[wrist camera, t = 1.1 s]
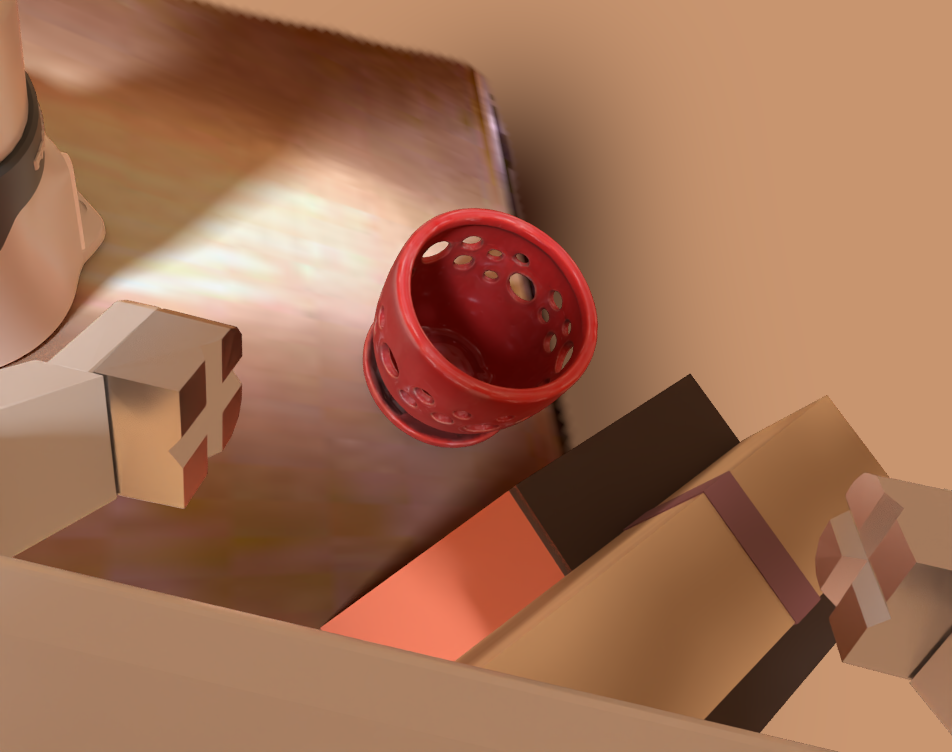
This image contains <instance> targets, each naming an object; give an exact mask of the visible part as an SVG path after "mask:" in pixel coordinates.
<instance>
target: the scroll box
mask: <svg viewBox="0 0 952 752" xmlns="http://www.w3.org/2000/svg"><path fill="white" fill-rule="evenodd" d="M863 473H870V474H874V475H879V476H883V477H888V478H889V476H888V475H887V473H886V472H885V471H884V470H883V468H882V467H881V466H880V464H879V463H878V462H877V460H876V459H875V458H874V456H873V455H872V454H871V452H870V451H869V450H868V448H867V447H866V446H865V444H864V443H863V442H862V440H861V439H860V438H859V437H858V435H857V434H856V433H855V431H854V430H853V429H852V427H851V426H850V425H849V423H848V422H847V421H846V419H845V418H844V417H843V416H842V414H841V413H840V411H839V410H838V409H837V408H836V406H835V405H834V404H833V402H832V401H831V400H830V398H829V397H828V396H827V395H826V396H824V397H822V398H821V399H819V400H817V401H815V402H813V403H811V404H809V405H808V406H806V407H804V408H802V409H800V410H798V411H796V412H795V413H793V414H791V415H789V416H787V417H785V418H783V419H781V420H779V421H778V422H776V423H774V424H772V425H771V426H768V427H766V428H765V429H763V430H761V431H759V432H757V433H755V434H753V435H752V436H750V437H748V438H746V439H744V440H743V441H741V442H740V443H739V444H737V445H736V446H735V447H733V448H732V449H731V450H729V451H728V452H727V453H726V454H724V455H723V456H722V457H720V458H719V459H718V460H716V461H715V462H714V463H712V464H711V465H710V466H709V467H707V468H706V469H705V470H703V471H702V472H701V473H699V474H698V475H697V476H696V477H694V478H693V479H692V480H690V481H689V482H688V483H686V484H685V485H684V486H682V487H681V488H680V489H679V490H677V491H676V492H675V493H673V494H672V495H671V496H669V497H668V498H667V499H666V500H664V501H663V502H662V503H660V504H659V505H658V506H656V507H655V508H653V509H651V510H649V511H647V512H646V513H644V514H643V515H642V516H640V517H639V518H638V519H636V520H635V521H634V522H633V523H631V524H630V525H629V526H627V527H626V528H625V529H623V531H624V532H622V533H621V534H620V535H619V536H617V537H616V538H615V539H613V540H612V541H611V542H609V543H608V544H607V545H605V546H604V547H603V548H602V549H600V550H599V551H598V552H596V553H595V554H594V555H592V556H591V557H590V558H589V559H587V560H586V561H585V562H583V563H582V564H581V565H579V566H578V567H577V568H575V569H574V570H573V571H572V572H570V573H569V574H568V575H566V576H565V577H564V578H562V579H561V580H560V581H559V582H557V583H556V584H555V585H553V586H552V587H551V588H549V589H548V590H547V591H545V592H544V593H543V594H542V595H540V596H539V597H538V598H536V599H535V600H534V601H532V602H531V603H530V604H528V605H527V606H526V607H525V608H523V609H522V610H521V611H519V612H518V613H517V614H515V615H514V616H513V617H512V618H510V619H509V620H508V621H506V622H505V623H504V624H502V625H501V626H500V627H498V628H497V629H496V630H495V631H493V632H492V633H491V634H489V635H488V636H487V637H485V638H484V639H483V640H482V641H480V642H479V643H478V644H476V645H475V646H474V647H472V648H471V649H470V650H468V651H467V652H466V653H465V654H463V655H462V656H461V657H459V658H458V659H457V660H455V662H459V663H463V664H468V665H472V666H476V667H480V668H485V669H489V670H493V671H498V672H502V673H506V674H510V675H515V676H519V677H523V678H528V679H532V680H536V681H540V682H545V683H549V684H553V685H558V686H562V687H566V688H570V689H575V690H579V691H583V692H587V693H592V694H596V695H600V696H605V697H609V698H613V699H617V700H622V701H626V702H630V703H635V704H639V705H643V706H647V707H652V708H656V709H660V710H664V711H669V712H673V713H677V714H681V715H685V716H690V717H694V718H698V719H702V720H704V719H705V718H706V717H707V716H708V715H709V714H710V713H711V712H712V710H713V709H714V708H715V707H716V706H717V705H718V704H719V703H720V702H721V701H722V700H723V699H724V698H725V697H726V696H727V695H728V693H729V692H730V691H731V690H732V689H733V688H734V687H735V686H736V685H737V684H738V683H739V682H740V681H741V680H742V679H743V678H744V676H745V675H746V674H747V673H748V672H749V671H750V670H751V669H752V668H753V667H754V666H755V665H756V664H757V663H758V662H759V661H760V660H761V658H762V657H763V656H764V655H765V654H766V653H767V652H768V651H769V650H770V649H771V648H772V647H773V646H774V645H775V644H776V643H777V641H778V640H779V639H780V638H781V637H782V636H783V635H784V634H785V633H786V632H787V631H788V630H789V629H790V628H791V627H792V626H793V625H795V624H798V623H799V622H800V621H801V620H802V619H803V618H804V617H805V616H806V615H807V614H808V613H809V612H810V610H811V609H812V608H813V607H814V606H815V605H816V604H817V603H818V602H819V601H820V600H821V598H820V596H821V595H822V594H823V592H822V591H821V590H820V587H819V584H818V580H817V577H816V568H815V556H816V552H817V547H818V542H819V538H820V536H821V535H822V533H823V531H824V529H825V527H826V526H827V524H828V522H829V520H830V519H832V518H834V517H836V516H838V515H840V514H842V513H844V512H846V511H848V510H849V507H848V504H847V500H846V496H845V495H846V493H847V491H848V490H849V488H850V487H851V485H852V484H853V482H854V481H855V480H856V479H857V478H858V477H860V476H861V475H862V474H863Z"/></svg>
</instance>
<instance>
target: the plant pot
mask: <svg viewBox="0 0 952 752" xmlns="http://www.w3.org/2000/svg"><path fill="white" fill-rule="evenodd" d="M470 236H477V237H480V238H481V240H480V241H479V242H477V243H474V244H467V243H464V242H462V241H463V240H464V239H466V238H468V237H470ZM441 241H446V242H448V243H449V244H448V246H447V247H446V248H445V249H444V250H443V251H441V252H440V253H438V254H436V255H433V256H430V257H422V256H423V254H424V253H425V252H426V251H427V250H428V248H429V247H431V246H432V245H434V244H435V243H438V242H441ZM491 250H498V251H500V252H501V253H502V255H501V256H492V255H490V254H489V253H488V252H489V251H491ZM519 253H520V254H523V255H525V256H526V257H527V258H528V259H529V262H528V263H522V262H521V261H519V260H518V259H517V257H516V255H517V254H519ZM461 255H467V256H471V257H472V260H471V261H470V262H469V263H467V264H461V265H458V264H455V263H454V260H455V259H456V258H457V257H458V256H461ZM488 270H490V271H494V272H496V273H497V275H498V277H497V278H496V279H491V278H488V277H487V276H486V275H485V274H484V273H485V271H488ZM515 273H519V274H522V275H524V276H526V277H527V278H528V279H529V280H531V281H532V282H533V285H534V287H535V296H534V298H533V299H532V300H530V301H526V300H523V299H521V298H520V297H518V296H517V295H516V294H515V293H514V292H513V290H512V288H511V286H510V281H509V279H510V276H512V275H513V274H515ZM555 291H557V292H559V293H560V295H561V297H562V307H561V309H559V308H558V307H557V306H556V304H555V302H554V299H553V294H554V292H555ZM543 309H546V310H547V312H548V314H549V320H548V322H545V321H544V320H543V318H542V310H543ZM569 323H571V331H570V333H569V334H568V326H569ZM597 328H598V321H597V314H596V308H595V303H594V301H593V297H592V294H591V291H590V289H589V287H588V284H587V282H586V281H585V279H584V277H583V275H582V273H581V271H580V270H579V268H578V266H577V265H576V263H575V262H574V261H573V259H572V258H571V257H570V256H569V255H568V253H567V252H566V251H565V250H564V249H563V248H562V247H561V246H560V245H559V244H558V243H557V242H556V241H554V240H553V239H552V238H551V237H549V236H548V235H547V234H545V233H544V232H543V231H541V230H539V229H538V228H536V227H535V226H533V225H531V224H529V223H528V222H526V221H524V220H521V219H519V218H517V217H515V216H512V215H509V214H506V213H503V212H499V211H495V210H490V209H479V208H468V209H458V210H453V211H449V212H446V213H443V214H440V215H438V216H436V217H434V218H432V219H431V220H429V221H427V222H426V223H424V224H423V225H422V226H421V227H419V228H418V229H417V230H416V231H415V232H414V233H413V234H412V235H411V237H410V238H409V239H408V240H407V242H406V243H405V245H404V246H403V248H402V250H401V251H400V253H399V255H398V256H397V258H396V260H395V262H394V264H393V266H392V268H391V270H390V272H389V274H388V276H387V279H386V282H385V284H384V287H383V289H382V292H381V295H380V298H379V301H378V304H377V308H376V313H375V319H374V322H373V324H372V325H371V327H370V329H369V332H368V334H367V337H366V340H365V344H364V349H363V369H364V375H365V379H366V382H367V385H368V388H369V391H370V393H371V395H372V397H373V399H374V401H375V402H376V404H377V405H378V407H379V408H380V410H381V411H382V412H383V414H384V415H385V416H386V417H387V418H388V419H389V420H390V421H391V422H392V423H393V424H394V425H395V426H396V427H398V428H399V429H400V430H402V431H403V432H405V433H406V434H408V435H410V436H411V437H413V438H415V439H417V440H419V441H422V442H424V443H427V444H430V445H435V446H439V447H450V448H458V447H466V446H471V445H475V444H478V443H480V442H483V441H485V440H487V439H488V438H490V437H492V436H493V435H494V434H496V433H497V432H498V431H499V430H501V429H504V428H507V427H510V426H513V425H515V424H517V423H520V422H522V421H524V420H526V419H528V418H529V417H531V416H533V415H535V414H536V413H538V412H540V411H541V410H543V409H544V408H546V407H547V406H549V405H550V404H551V403H553V402H554V401H555V400H556V399H558V398H559V397H560V396H561V395H562V394H564V393H565V392H566V391H567V390H568V389H569V388H570V387H571V386H573V385H574V384H575V382H577V381H578V380H579V378H580V377H581V376H582V375H583V373H584V372H585V370H586V369H587V367H588V365H589V363H590V361H591V359H592V357H593V353H594V350H595V346H596V342H597ZM554 334H555V336H556V339H557V342H556V346H555V348H554V350H553V351H552V352H551V351H550V340H551V338H552V336H553V335H554ZM572 347H573V353H572V356H571V358H570V360H569V361H568V362H567V364H566V365H565V366H564V368H563V369H562V370H561V368H562V365H563V361H564V359H565V356H566V355H567V353H568V351H569V350H570V349H571V348H572Z"/></svg>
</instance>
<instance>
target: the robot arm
mask: <svg viewBox="0 0 952 752" xmlns="http://www.w3.org/2000/svg"><path fill="white" fill-rule="evenodd" d="M105 234H106V231H105V226H104V221H103V219H102V217H101V216H100V214H99V213H98V212H97V211H96V210H95V209H94V208H93V207H92V205H91V204H90V203H89V202H88V201H87V200H86V199H85V198H84V197H83V196H82V194H81V193H80V192H79V191H78V190H77V188H76V182H75V175H74V169H73V165H72V162H71V159H70V157H69V155H68V154H67V153H65V152H60V151H59V149H58V148H57V147H56V145H55V144H54V143H53V142H52V141H51V139H50V138H49V137H48V136H47V135H46V134H45V129H44V122H43V116H42V111H41V109H40V105H39V103H38V101H37V96H36V92H35V89H34V87H33V84H32V82H31V80H30V78H29V76H28V74H27V73H26V71H25V69H24V60H23V51H22V41H21V32H20V23H19V14H18V5H17V0H0V367H2V366H4V365H6V364H8V363H11V362H13V361H15V360H17V359H18V358H20V357H22V356H24V355H25V354H27V353H29V352H30V351H32V350H33V349H35V348H36V347H37V346H39V345H40V344H41V343H42V342H44V341H45V340H46V339H47V338H48V337H49V336H50V335H51V334H52V333H53V332H54V331H55V330H56V329H57V327H58V326H59V325H60V324H61V322H62V321H63V319H64V318H65V316H66V315H67V313H68V311H69V309H70V307H71V305H72V302H73V300H74V297H75V294H76V290H77V285H78V280H79V276H80V273H81V269H82V267H83V265H84V263H85V262H86V261H87V260H88V259H89V258H90V257H91V256H92V255H93V253H94V252H95V251H96V250H97V249H98V247H99V246H100V245H101V243H102V242H103V240H104V238H105ZM241 357H242V334H241V333H240V331H239V329H238V328H237V327H235V326H231V325H227V324H223V323H219V322H216V321H212V320H208V319H204V318H200V317H196V316H192V315H188V314H184V313H180V312H176V311H172V310H168V309H161V308H159V307H156V306H152V305H147V304H143V303H138V302H134V301H129V300H121V301H117V302H115V303H114V304H113V305H112V306H111V307H109V308H108V309H107V310H106V311H105V312H104V313H103V314H101V315H100V316H99V317H98V318H97V319H96V320H95V321H94V322H92V323H91V324H90V325H89V326H88V327H87V328H86V329H84V330H83V331H82V332H81V333H80V334H79V335H78V336H77V337H75V338H74V339H73V340H72V341H71V342H70V343H69V344H67V345H66V346H65V347H64V348H63V349H62V350H61V351H60V352H58V353H57V354H56V355H55V356H54V357H53V358H52V359H50V360H49V361H48V362H43V361H38V360H32V361H29V362H25V363H21V364H18V365H14V366H11V367H7V368H3V369H0V752H837V751H833V750H829V749H825V748H820V747H816V746H812V745H807V744H804V743H799V742H795V741H791V740H787V739H783V738H778V737H774V736H770V735H765V734H761V733H757V732H753V731H749V730H745V729H740V728H736V727H732V726H728V725H723V724H719V723H715V722H711V721H707V720H702V719H698V718H694V717H690V716H685V715H681V714H677V713H673V712H669V711H664V710H660V709H656V708H652V707H647V706H643V705H639V704H635V703H630V702H626V701H622V700H617V699H613V698H609V697H605V696H600V695H596V694H592V693H587V692H583V691H579V690H575V689H570V688H566V687H562V686H558V685H553V684H549V683H545V682H540V681H536V680H532V679H528V678H523V677H519V676H515V675H510V674H506V673H502V672H498V671H493V670H489V669H485V668H480V667H476V666H472V665H468V664H463V663H459V662H455V661H451V660H446V659H442V658H438V657H433V656H429V655H425V654H421V653H416V652H412V651H408V650H403V649H399V648H395V647H391V646H386V645H382V644H378V643H373V642H369V641H365V640H361V639H356V638H352V637H348V636H344V635H339V634H335V633H331V632H327V631H322V630H318V629H314V628H310V627H305V626H301V625H297V624H292V623H288V622H284V621H280V620H275V619H271V618H267V617H263V616H258V615H254V614H250V613H246V612H241V611H237V610H233V609H228V608H224V607H220V606H216V605H211V604H207V603H203V602H199V601H194V600H190V599H186V598H182V597H177V596H173V595H169V594H165V593H160V592H156V591H152V590H147V589H143V588H139V587H135V586H130V585H126V584H122V583H118V582H113V581H109V580H105V579H101V578H96V577H92V576H88V575H83V574H79V573H75V572H71V571H66V570H62V569H58V568H54V567H49V566H45V565H41V564H37V563H32V562H28V561H24V560H19V559H15V558H12V557H13V556H15V555H17V554H19V553H21V552H22V551H24V550H26V549H28V548H30V547H31V546H33V545H35V544H37V543H38V542H40V541H42V540H44V539H46V538H47V537H49V536H51V535H53V534H54V533H56V532H58V531H60V530H62V529H63V528H65V527H67V526H69V525H70V524H72V523H74V522H76V521H78V520H79V519H81V518H83V517H85V516H87V515H88V514H90V513H92V512H94V511H95V510H97V509H99V508H101V507H103V506H104V505H106V504H108V503H110V502H111V501H113V500H115V499H117V495H120V496H125V497H129V498H134V499H139V500H144V501H149V502H154V503H159V504H164V505H168V506H173V507H178V508H183V509H185V507H186V506H187V504H188V503H189V501H190V500H191V498H192V497H193V495H194V494H195V492H196V491H197V489H198V487H199V486H200V484H201V483H202V481H203V480H204V478H205V477H206V475H207V474H208V457H210V456H212V455H215V454H217V453H219V452H221V451H223V449H224V448H225V446H226V444H227V443H228V441H229V439H230V438H231V436H232V433H233V431H234V428H235V425H236V422H237V420H238V417H239V411H240V405H241V399H242V383H241V382H240V380H239V379H238V378H237V376H236V375H235V373H234V372H233V370H232V369H233V368H234V367H235V365H236V364H237V363H238V361H239V360H240V358H241ZM845 496H846V500H847V504H848V507H849V510H848V511H846V512H844V513H842V514H840V515H838V516H836V517H834V518H832V519H830V520H829V522H828V524H827V526H826V527H825V529H824V531H823V533H822V535H821V536H820V538H819V542H818V547H817V552H816V556H815V568H816V577H817V580H818V584H819V587H820V590H821V591H822V592H823V593H824V594H825V595H826V596H827V598H828V599H829V600H830V601H831V602H832V603H833V604H834V605H835V606H836V608H835V609H834V611H833V612H832V614H831V615H830V617H829V621H830V624H831V627H832V631H833V634H834V637H835V640H836V643H837V647H838V650H839V653H840V656H841V660H842V662H843V663H847V664H851V665H855V666H858V667H862V668H866V669H870V670H874V671H878V672H881V673H885V674H889V675H893V676H897V677H901V678H905V679H908V680H911V682H910V684H911V685H912V687H913V688H914V689H915V690H916V692H917V693H918V694H919V695H920V697H921V698H922V699H923V700H924V702H925V703H926V704H927V705H928V706H929V708H930V709H931V710H932V711H933V713H934V714H935V715H936V716H937V718H938V719H939V720H940V721H941V722H942V724H943V725H944V726H945V727H946V729H947V730H948V731H949V732H950V734H951V735H952V490H948V489H939V488H935V487H930V486H925V485H920V484H916V483H911V482H906V481H902V480H897V479H893V478H888V477H883V476H879V475H874V474H870V473H863V474H862V475H861V476H860V477H858V478H857V479H856V480H855V481H854V482H853V484H852V485H851V487H850V488H849V490H848V491H847V493H846V495H845Z"/></svg>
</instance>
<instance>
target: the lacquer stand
mask: <svg viewBox="0 0 952 752" xmlns="http://www.w3.org/2000/svg"><path fill="white" fill-rule="evenodd" d="M739 443H740V442H739V440H738V439H737V437H736V436H735V435H734V433H733V432H732V430H731V429H730V428H729V426H728V425H727V423H726V422H725V421H724V419H723V418H722V417H721V415H720V414H719V412H718V411H717V410H716V408H715V407H714V405H713V404H712V403H711V401H710V400H709V399H708V397H707V396H706V394H705V393H704V392H703V390H702V389H701V388H700V386H699V385H698V383H697V382H696V381H695V379H694V378H693V377H692V375H691V374H689V375H687V376H686V377H684V378H683V379H681V380H680V381H678V382H676V383H675V384H673V385H672V386H670V387H669V388H667V389H666V390H664V391H662V392H661V393H659V394H658V395H656V396H655V397H653V398H652V399H650V400H648V401H647V402H645V403H644V404H642V405H641V406H639V407H637V408H636V409H634V410H633V411H631V412H630V413H628V414H626V415H625V416H623V417H622V418H620V419H619V420H617V421H616V422H614V423H612V424H611V425H609V426H608V427H606V428H605V429H603V430H601V431H600V432H598V433H597V434H595V435H594V436H592V437H591V438H589V439H587V440H586V441H584V442H583V443H581V444H580V445H578V446H577V447H575V448H573V449H572V450H570V451H569V452H567V453H566V454H564V455H562V456H561V457H559V458H558V459H556V460H555V461H553V462H551V463H550V464H548V465H547V466H545V467H544V468H542V469H541V470H539V471H537V472H536V473H534V474H533V475H531V476H530V477H528V478H526V479H525V480H523V481H522V482H520V483H519V484H517V485H516V486H514V487H513V488H511V489H510V490H509V491H507V492H506V493H505V494H503V495H502V496H500V497H499V498H498V499H496V500H495V501H494V502H492V503H491V504H490V505H488V506H487V507H485V508H484V509H483V510H481V511H480V512H479V513H477V514H476V515H474V516H473V517H472V518H470V519H469V520H468V521H466V522H465V523H463V524H462V525H461V526H459V527H458V528H457V529H455V530H454V531H452V532H451V533H450V534H448V535H447V536H446V537H444V538H443V539H441V540H440V541H439V542H437V543H436V544H435V545H433V546H432V547H431V548H429V549H428V550H426V551H425V552H424V553H422V554H421V555H420V556H418V557H417V558H415V559H414V560H413V561H411V562H410V563H409V564H407V565H406V566H404V567H403V568H402V569H400V570H399V571H398V572H396V573H395V574H393V575H392V576H391V577H389V578H388V579H387V580H385V581H384V582H382V583H381V584H380V585H378V586H377V587H376V588H374V589H373V590H372V591H370V592H369V593H367V594H366V595H365V596H363V597H362V598H361V599H359V600H358V601H356V602H355V603H354V604H352V605H351V606H350V607H348V608H347V609H345V610H344V611H343V612H341V613H340V614H339V615H337V616H336V617H334V618H333V619H332V620H330V621H329V622H328V623H326V624H325V625H323V626H322V627H321V630H322V631H327V632H331V633H335V634H339V635H344V636H348V637H352V638H356V639H361V640H365V641H369V642H373V643H378V644H382V645H386V646H391V647H395V648H399V649H403V650H408V651H412V652H416V653H421V654H425V655H429V656H433V657H438V658H442V659H446V660H451V661H455V660H457V659H458V658H459V657H461V656H462V655H463V654H465V653H466V652H467V651H468V650H470V649H471V648H472V647H474V646H475V645H476V644H478V643H479V642H480V641H482V640H483V639H484V638H485V637H487V636H488V635H489V634H491V633H492V632H493V631H495V630H496V629H497V628H498V627H500V626H501V625H502V624H504V623H505V622H506V621H508V620H509V619H510V618H512V617H513V616H514V615H515V614H517V613H518V612H519V611H521V610H522V609H523V608H525V607H526V606H527V605H528V604H530V603H531V602H532V601H534V600H535V599H536V598H538V597H539V596H540V595H542V594H543V593H544V592H545V591H547V590H548V589H549V588H551V587H552V586H553V585H555V584H556V583H557V582H559V581H560V580H561V579H562V578H564V577H565V576H566V575H568V574H569V573H570V572H572V571H573V570H574V569H575V568H577V567H578V566H579V565H581V564H582V563H583V562H585V561H586V560H587V559H589V558H590V557H591V556H592V555H594V554H595V553H596V552H598V551H599V550H600V549H602V548H603V547H604V546H605V545H607V544H608V543H609V542H611V541H612V540H613V539H615V538H616V537H617V536H619V535H620V534H621V533H622V532H624V531H623V529H625V528H626V527H627V526H629V525H630V524H631V523H633V522H634V521H635V520H636V519H638V518H639V517H640V516H642V515H643V514H644V513H646V512H647V511H649V510H651V509H653V508H655V507H656V506H658V505H659V504H660V503H662V502H663V501H664V500H666V499H667V498H668V497H669V496H671V495H672V494H673V493H675V492H676V491H677V490H679V489H680V488H681V487H682V486H684V485H685V484H686V483H688V482H689V481H690V480H692V479H693V478H694V477H696V476H697V475H698V474H699V473H701V472H702V471H703V470H705V469H706V468H707V467H709V466H710V465H711V464H712V463H714V462H715V461H716V460H718V459H719V458H720V457H722V456H723V455H724V454H726V453H727V452H728V451H729V450H731V449H732V448H733V447H735V446H736V445H737V444H739ZM820 598H821V600H820V601H819V602H818V603H817V604H816V605H815V606H814V607H813V608H812V609H811V610H810V612H809V613H808V614H807V615H806V616H805V617H804V618H803V619H802V620H801V621H800V622H799V623H798V624H795V625H793V626H792V627H791V628H790V629H789V630H788V631H787V632H786V633H785V634H784V635H783V636H782V637H781V638H780V639H779V640H778V641H777V643H776V644H775V645H774V646H773V647H772V648H771V649H770V650H769V651H768V652H767V653H766V654H765V655H764V656H763V657H762V658H761V660H760V661H759V662H758V663H757V664H756V665H755V666H754V667H753V668H752V669H751V670H750V671H749V672H748V673H747V674H746V675H745V676H744V678H743V679H742V680H741V681H740V682H739V683H738V684H737V685H736V686H735V687H734V688H733V689H732V690H731V691H730V692H729V693H728V695H727V696H726V697H725V698H724V699H723V700H722V701H721V702H720V703H719V704H718V705H717V706H716V707H715V708H714V709H713V710H712V712H711V713H710V714H709V715H708V716H707V717H706V718H705V719H704V720H707V721H711V722H715V723H719V724H723V725H728V726H732V727H736V728H740V729H745V730H749V731H753V732H757V733H760V732H761V731H762V730H763V728H764V727H765V726H766V725H767V724H768V722H769V721H770V720H771V719H772V718H773V716H774V715H775V714H776V713H777V712H778V711H779V709H780V708H781V707H782V706H783V705H784V704H785V702H786V701H787V700H788V699H789V698H790V696H791V695H792V694H793V693H794V692H795V690H796V689H797V688H798V687H799V686H800V685H801V683H802V682H803V681H804V680H805V679H806V677H807V676H808V675H809V674H810V673H811V672H812V670H813V669H814V668H815V667H816V666H817V665H818V663H819V662H820V661H821V660H822V659H823V657H824V656H825V655H826V654H827V653H828V652H829V650H830V649H831V648H832V647H833V646H834V644H835V643H836V640H835V637H834V634H833V631H832V627H831V624H830V621H829V617H830V615H831V614H832V612H833V611H834V609H835V608H836V606H835V605H834V604H833V603H832V602H831V601H830V600H829V599H828V598H827V596H826V595H825V594H824V593H823V594H822V595H821V596H820Z"/></svg>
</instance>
